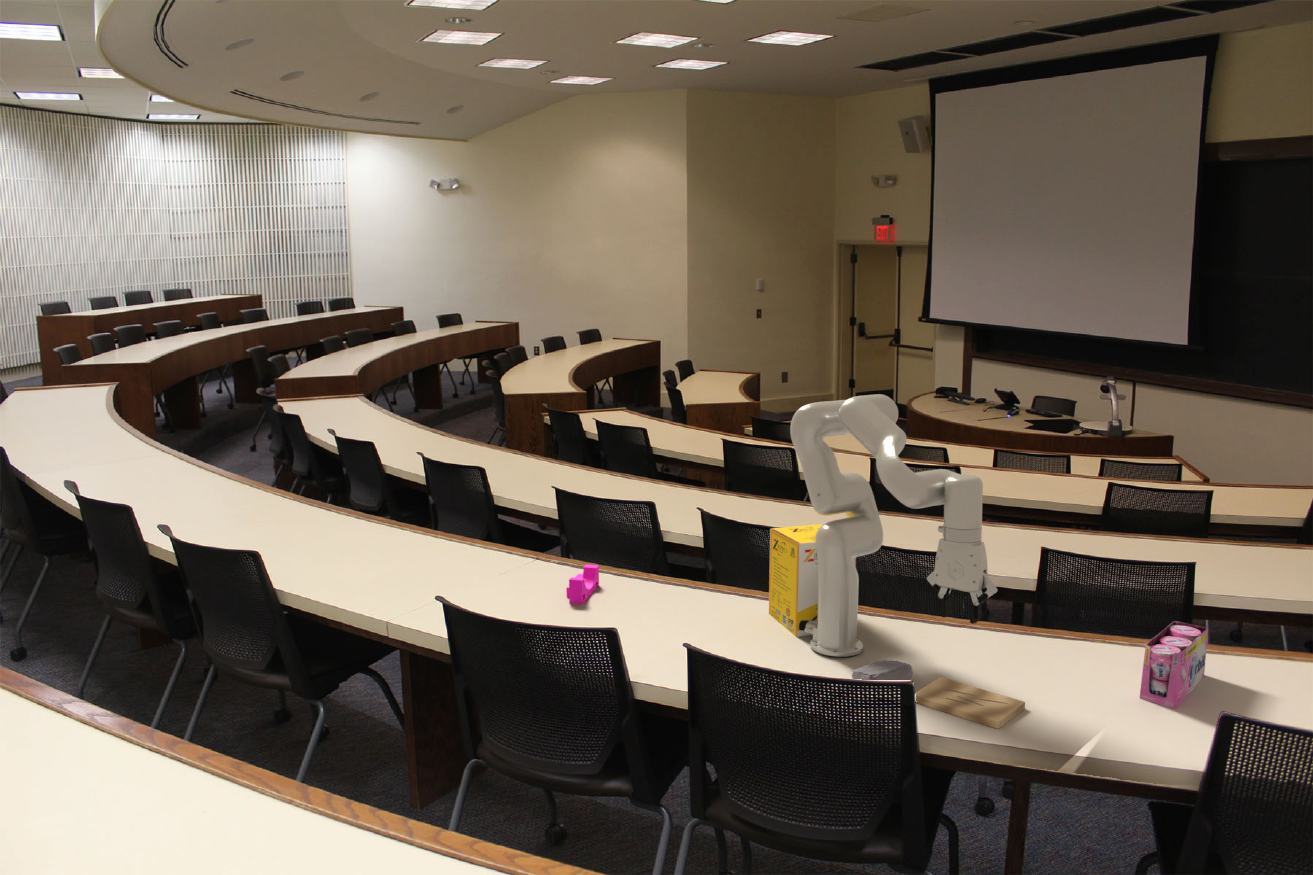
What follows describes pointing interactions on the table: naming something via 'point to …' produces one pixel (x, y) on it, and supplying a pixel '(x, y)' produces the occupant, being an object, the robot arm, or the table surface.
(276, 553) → the table surface
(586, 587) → the toy block
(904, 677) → the stone block
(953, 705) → the board
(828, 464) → the robot arm
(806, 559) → the packaging box
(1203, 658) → the gum box
